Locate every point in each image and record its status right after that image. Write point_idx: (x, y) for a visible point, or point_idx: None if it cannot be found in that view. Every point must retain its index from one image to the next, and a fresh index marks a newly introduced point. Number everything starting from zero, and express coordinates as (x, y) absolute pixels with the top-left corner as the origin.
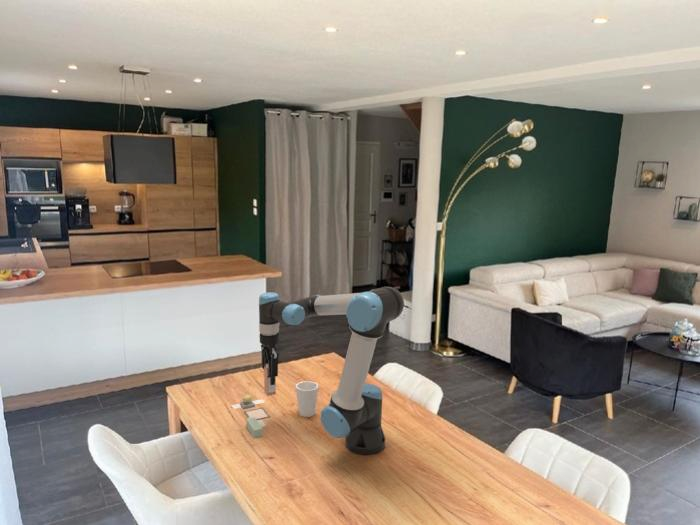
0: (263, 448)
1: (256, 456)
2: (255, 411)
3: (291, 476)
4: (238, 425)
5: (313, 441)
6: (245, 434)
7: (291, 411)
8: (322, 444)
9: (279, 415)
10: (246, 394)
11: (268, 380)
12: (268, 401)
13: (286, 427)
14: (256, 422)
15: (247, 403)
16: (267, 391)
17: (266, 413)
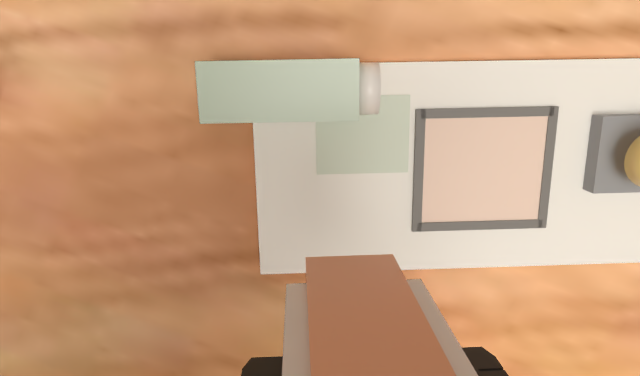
0: (99, 83)
1: (24, 16)
2: (521, 173)
3: None
4: (427, 28)
5: (79, 345)
6: (299, 35)
7: None
8: (35, 372)
9: (425, 285)
10: None
11: (298, 368)
12: (618, 285)
13: (277, 274)
14: (287, 109)
15: None
16: (306, 277)
17: (461, 224)
